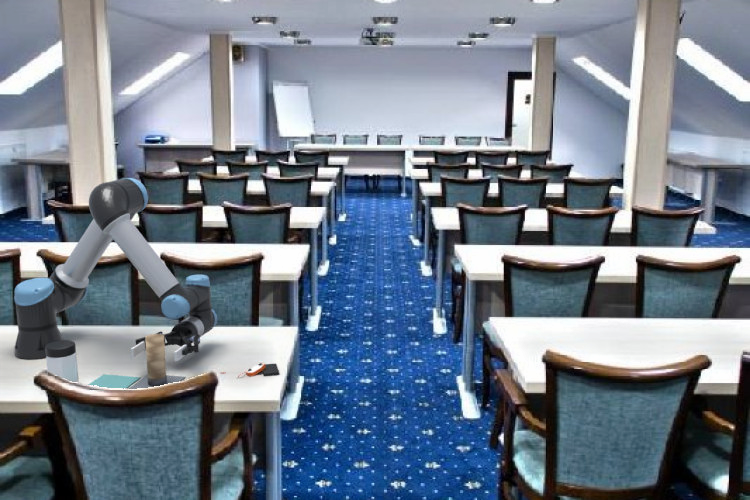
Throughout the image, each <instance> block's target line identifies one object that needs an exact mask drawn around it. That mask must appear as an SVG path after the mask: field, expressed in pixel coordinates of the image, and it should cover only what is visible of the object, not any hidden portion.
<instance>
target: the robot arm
mask: <svg viewBox="0 0 750 500" xmlns="http://www.w3.org/2000/svg"><path fill="white" fill-rule="evenodd" d="M148 202H149V194H148V191H147V189H146V187H145V185H144V184H143V183H142V182H141V181H140V180H138V179H136V178H133V177H122V178H119V179H116V180H112V181H111V180H110V181H107V182H106V181H105V182H102V183H99V184H98V185H97V186H95V187H94V188H93V189H92V191H90V195H89V197H88V207H89V211H90V214H91V216H92V218H93V219H92V221H91V222H90V224H89V225H88V227H87V228H86V229H85V231H84V233H83V234H82V236H81V237H80V239H79V241H78V242H77V244H76V245H75V247H74V248H73V250H72V251H71V253H70V255H69V256H68V258H67V260H66V261H65V262H64V263H61V264H58V265H57V266H56V267H55V269H54V271H53V272H52V273H51V275H50V276H49V277H35V278H32V279H27V280H23V281H22V282H20V283H18V284H17V285H16V286H15V288H14V297H13V298H14V304H15V305H14V306H15V313H16V321H17V328H18V329H17V330H18V333H17V337H16V340H15V345H14V356H15V357H16V358H18V359H24V360H38V359H46V352H45V346H46V345H47V344H49V343H51V342H55V341H61V340H64V338H63V336H62V333H61V331H60V329H59V327H58V320H57V319H58V318H57V314H59V313H61V312H62V311H65V310H67V309H70V308H72V307H75V306H77V305H78V304H80V303H81V302H82V301H84V299H85V298H86V297H87V294H88V291H89V288H88V286H89V283H90V279H89V276H90V274H91V273H92V271H93V270H94V268H95V267H96V265H97V264H98V262H99V261H100V259H101V258H102V256H103V254H104V253H105V251H106V250H107V249H108V247H109V245H110V244H111V243H112V242H113V241H114V243H115V244H116V245H117V246H118V247H119V248H120V250H121V251H122V252H123V254H124V255H125V256H126V257H127V259H128V260H129V261H130V262H131V264H132V265H133V266H134V268H135V269H136V270H137V272H138V273H139V274H140V275H141V276H142V278H143V279H144V281H146V283H147V284H148V285H149V287H150V288H151V289H152V290H153V292H154V293H155V294H156V296H157V297H158V298H159V300H161V305H160V306H161V307H160V308H161V312H162V314H163V316H165V317H166V318H167V319H170V320H178V319H181V318H182V317H186V316H187V315H188V316H187V317H186V318H185V319H182V320H181V321H180V322H179V323H177V324H176V325H174V326H173V327H172V329H171V331H170V332H168V333H163V331H159V332H156V333H155V334H162V335H164V343H165V347H167V346H179V348H178V349H176V350H175V351H174V352H173V359H174V362H178V361H179V360H181V359H183V357H185V356H187V355H188V354H192V353H193V352H194V354H198V353H199V352H200V351H199V350H200V349H199V344H200V343H201V337H203V336H204V335H206V334H207V333H209V332H210V331H212V330H213V328H214V327H215V326H216V325H217V323H218V315H217V313H216V311H215V310H214V309H213V307H212V298H211V297H212V296H211V295H212V294H211V293H212V291H211V282H210V277H209V276H208V275H207V274H192V275H189V276H186V278H185V287H183V286H182V284H181V283H180V282H179V280H178V279H177V278H176V277H175V276H174V274H173V273H172V272H171V270H170V269H169V268H168V267H167V265H166V264H165V263H164V261H163V260H162V259H161V258H160V256H159V255H158V254H157V253H156V251H155V250H154V249H153V247H152V246H151V245H150V244H149V242H148V241H147V240H146V238H145V237H144V236H143V234H142V233H141V232H140V231H139V229H138V228H137V227H136V225H135V224H134V223H133V222H132V220H133V219H134V217H135V215H136V214H137V213H140V212H142V211H143V210H144V209H146V207H147V205H148ZM145 337H146V336H144V337H140V338H136V339H135V345H134V346H133V347H131V348H130V354H131V355H130V357H131V358H132V359H133V358H136V357H137V356H139V355H140V354H142V353H144V352H146V340H145ZM192 344H193V345H192Z"/></svg>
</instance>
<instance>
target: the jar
mask: <svg viewBox="0 0 750 500" xmlns="http://www.w3.org/2000/svg"><path fill="white" fill-rule="evenodd" d="M76 347H77V345H76V342H75V341H73V340H68V339H66V340H65V339H63V340H61V341H55V342H51V343H49V344H47V345H46V346H45V352H46V357H45V359H46V369H47V370H46V371H47V372H48V371H49V372H51V373H53V374H55V375H57V376H60V377H62V378H65V379H67V380H69V381H72V382H78V383H79V369H78V358H77V349H76Z"/></svg>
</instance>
